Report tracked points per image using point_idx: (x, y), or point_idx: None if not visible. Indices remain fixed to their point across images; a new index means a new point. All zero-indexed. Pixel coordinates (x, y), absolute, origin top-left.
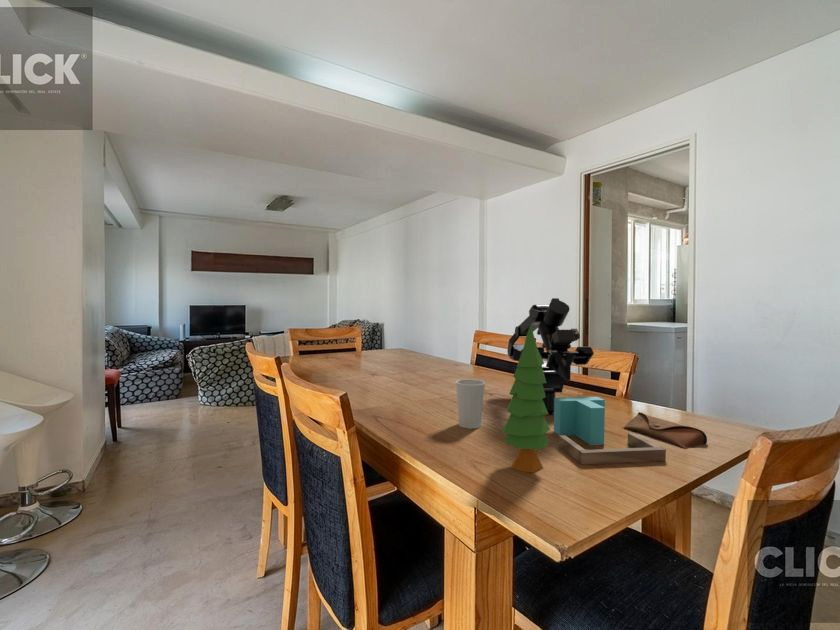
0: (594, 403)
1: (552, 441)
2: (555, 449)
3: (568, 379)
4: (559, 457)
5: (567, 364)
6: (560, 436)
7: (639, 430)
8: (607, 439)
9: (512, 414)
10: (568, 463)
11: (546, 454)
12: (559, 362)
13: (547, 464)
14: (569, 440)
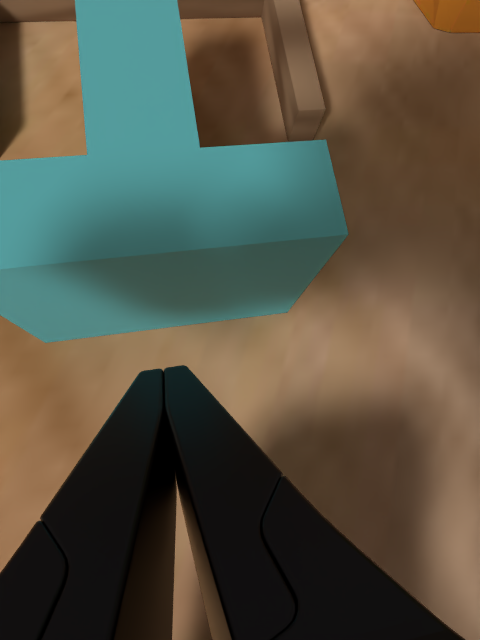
0: (93, 71)
1: None
2: (333, 110)
3: (171, 367)
4: (336, 49)
5: (77, 612)
6: (322, 97)
7: None
8: None
9: None
10: (320, 9)
11: (375, 72)
12: (366, 629)
13: (386, 7)
14: (297, 57)
